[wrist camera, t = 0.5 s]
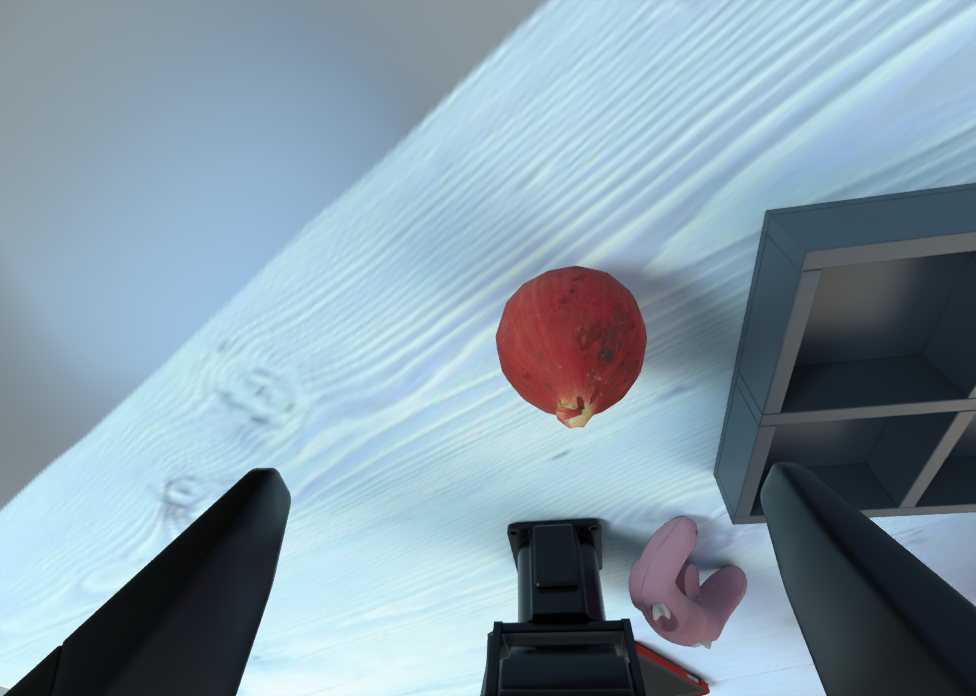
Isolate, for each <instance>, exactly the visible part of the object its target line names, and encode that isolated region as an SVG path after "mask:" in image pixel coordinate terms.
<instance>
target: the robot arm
mask: <svg viewBox="0 0 976 696" xmlns="http://www.w3.org/2000/svg"><path fill="white" fill-rule="evenodd" d="M290 504H291V497H290V493H289V490H288V489H287V487H286V485H285V483H284V481H283V479H282V477H281V476H280V474H279V472H278V471H277V470H276V469H275V468H255V469H252V470H251V471H249V472H248V473H247V474H246V475H245V476H244V477H243V478H241V479H240V480H239V481H238V482H237V483H236V484H235V485H234V486H233V487H232V488H231V489H229V490H228V491H227V492H226V493H225V494H224V495H223V496H222V497H221V498H220V499H218V500H217V501H216V502H215V503H214V504H213V505H212V506H211V507H210V508H209V509H208V510H206V511H205V512H204V513H203V514H202V515H201V516H200V517H199V518H198V519H197V520H196V521H194V522H193V523H192V524H191V525H190V526H189V527H188V528H187V529H186V530H185V531H184V532H182V533H181V534H180V535H179V536H178V537H177V538H176V539H175V540H174V541H173V542H172V543H170V544H169V545H168V546H167V547H166V548H165V549H164V550H163V551H162V552H161V553H160V554H158V555H157V556H156V557H155V558H154V559H153V560H152V561H151V562H150V563H149V564H148V565H146V566H145V567H144V568H143V569H142V570H141V571H140V572H139V573H138V574H137V575H135V576H134V577H133V578H132V579H131V580H130V581H129V582H128V583H127V584H126V585H125V586H123V587H122V588H121V589H120V590H119V591H118V592H117V593H116V594H115V595H114V596H113V597H111V598H110V599H109V600H108V601H107V602H106V603H105V604H104V605H103V606H102V607H101V608H99V609H98V610H97V611H96V612H95V613H94V614H93V615H92V616H91V617H90V618H89V619H87V620H86V621H85V622H84V623H83V624H82V625H81V626H80V627H79V628H78V629H77V630H75V631H74V632H73V633H72V634H71V635H70V636H69V637H68V638H67V639H66V640H65V641H64V642H63V645H62V646H58V647H57V648H56V649H54V650H53V651H52V652H51V653H50V654H49V655H48V656H47V657H46V658H45V659H44V660H42V661H41V662H40V663H39V664H38V665H37V666H36V667H35V668H34V669H33V670H31V671H30V672H29V673H28V674H27V675H26V676H25V677H24V678H22V679H21V680H20V681H19V682H18V683H17V684H16V685H15V686H13V687H12V688H11V689H10V690H9V691H8V692H7V693H6V694H4V695H3V696H236V694H237V691H238V688H239V685H240V682H241V679H242V676H243V673H244V670H245V667H246V664H247V661H248V658H249V655H250V652H251V649H252V646H253V643H254V640H255V637H256V634H257V631H258V628H259V625H260V622H261V619H262V616H263V613H264V610H265V607H266V604H267V601H268V598H269V594H270V591H271V588H272V585H273V581H274V577H275V573H276V569H277V564H278V559H279V555H280V550H281V546H282V541H283V537H284V532H285V528H286V523H287V519H288V514H289V509H290ZM761 504H762V508H763V511H764V515H765V519H766V522H767V526H768V530H769V533H770V537H771V541H772V544H773V548H774V552H775V555H776V559H777V563H778V567H779V570H780V574H781V577H782V580H783V584H784V587H785V590H786V593H787V595H788V598H789V601H790V604H791V606H792V609H793V611H794V614H795V616H796V619H797V621H798V624H799V627H800V629H801V632H802V634H803V637H804V639H805V642H806V644H807V647H808V650H809V652H810V655H811V657H812V660H813V662H814V665H815V667H816V670H817V672H818V675H819V678H820V680H821V683H822V685H823V688H824V690H825V693H826V695H827V696H976V607H975V606H974V605H973V604H972V603H971V602H969V601H968V600H967V599H966V598H965V597H963V596H962V595H961V594H960V593H959V592H957V591H956V590H955V589H954V588H952V587H951V586H950V585H949V584H948V583H946V582H945V581H944V580H943V579H942V578H940V577H939V576H938V575H937V574H936V573H934V572H933V571H932V570H931V569H930V568H928V567H927V566H926V565H925V564H923V563H922V562H921V561H920V560H919V559H917V558H916V557H915V556H914V555H913V554H911V553H910V552H909V551H908V550H907V549H905V548H904V547H903V546H902V545H900V544H899V543H898V542H897V541H896V540H894V539H893V538H892V537H891V536H890V535H888V534H887V533H886V532H885V531H884V530H882V529H881V528H880V527H879V526H878V525H876V524H875V523H874V522H873V521H871V520H870V519H869V518H868V517H867V516H865V515H864V514H863V513H862V512H861V511H859V510H858V509H857V508H856V507H855V506H853V505H852V504H851V503H850V502H848V501H847V500H846V499H845V498H844V497H842V496H841V495H840V494H839V493H838V492H836V491H835V490H834V489H833V488H832V487H830V486H829V485H828V484H827V483H825V482H824V481H823V480H822V479H821V478H819V477H818V476H817V475H816V474H815V473H813V472H812V471H811V470H810V469H809V468H807V467H806V466H805V465H803V464H801V463H797V462H778V463H775V464H774V465H773V466H772V467H771V470H770V472H769V474H768V476H767V478H766V480H765V483H764V485H763V487H762V489H761ZM507 534H508V537H509V541H510V545H511V549H512V553H513V557H514V561H515V565H516V568H517V572H518V623H503V622H502V621H496V622H494V628H493V631H492V632H490V633H488V641H487V661H486V668H485V673H484V679H483V684H482V690H481V695H480V696H646V692H645V687H644V682H643V677H642V673H641V668H640V664H639V659H638V655H637V650H636V645H635V641H634V636H633V632H632V627H631V623H630V619H621V620H615V621H606V618H605V610H604V603H603V596H602V589H601V582H600V575H599V570H601V569H602V547H601V526H600V522H599V521H598V520H593V519H592V520H574V521H556V522H538V523H519V524H510V525H509V526H508V528H507Z"/></svg>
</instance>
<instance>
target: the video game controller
mask: <svg viewBox="0 0 976 696" xmlns="http://www.w3.org/2000/svg"><path fill="white" fill-rule="evenodd" d="M697 535H698V531H697V526H696V524H695V522H694V521H693V520H692V519H690V518H688V517H686V516H680V517H677V518H674V519H672V520H670V521H669V522H667V523H665V524H664V525H663V526H662V527H661V528H659V529H658V530H657V531H656V532H655V534H654V535H653V536H652V537H651V539H650V540H649V542H648V544H647V545H646V547H645V548H644V550H643V552H642V554H641V556H640V558H639V559H637V560H636V561H635V563H634V564H633V566H632V569H631V572H630V577H629V592H630V596H631V599H632V603H633V604H634V606H635V607H636V608H637V609H638V610H640V611H642V613H643V615H644V617H645V618H646V620H647V622H648V623H649V624H650V626H651V627H652V628H653V629H654V631H655V632H656V633H657V634H659V635H660V636H661V637H662V638H664V639H666V640H668V641H670V642H672V643H675V644H678V645H682V646H688V647H693V648H694V647H699V646H700V645H703V646H705V647H706V648H707V649H710V648H711V643H712V641H715V640H717V639H718V637H719V636H720V634H721V632H722V630H723V628H724V626H725V623H726V622H727V620H728V618H729V617H730V615H731V614H732V612H733V611H734V610H735V608H736V607H737V606H738V604H739V603H740V601H741V600H742V598H743V596H744V595H745V592H746V588H747V579H746V575H745V573H744V572H743V570H742V569H740V568H739V567H736V566H726V567H723V568H721V569H719V570H718V571H716V572H715V573H714V574H712V575H711V576H710V577H709V578H708V579H707V580H706V581H705V582H704V583H703V584H702V585H701V586H700V587H699V573H698V570H697V568H696V566H695V565H693V564H689V563H684V562H685V561H686V559H687V558H688V556H689V555H690V553H691V552H692V550H693V548H694V547H695V543H696V539H697Z"/></svg>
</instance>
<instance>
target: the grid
mask: <svg viewBox="0 0 976 696" xmlns="http://www.w3.org/2000/svg"><path fill="white" fill-rule="evenodd" d="M778 462H797V463H801V464H803V465H805V466H806V467H807V468H809V469H810V470H811V471H812V472H813V473H815V474H816V475H817V476H818V477H819V478H821V479H822V480H823V481H824V482H825V483H827V484H828V485H829V486H830V487H832V488H833V489H834V490H835V491H836V492H838V493H839V494H840V495H841V496H842V497H844V498H845V499H846V500H847V501H848V502H850V503H851V504H852V505H853V506H855V507H856V508H857V509H858V510H859V511H861V512H862V513H863V514H864V515H865V516H867V517H868V518H870V517H890V516H909V515H928V514H948V513H967V512H976V183H972V184H965V185H957V186H949V187H942V188H934V189H927V190H919V191H911V192H904V193H896V194H889V195H881V196H873V197H866V198H858V199H851V200H843V201H835V202H828V203H820V204H813V205H805V206H797V207H790V208H782V209H775V210H767V211H766V213H765V218H764V223H763V228H762V233H761V238H760V243H759V248H758V253H757V258H756V263H755V268H754V273H753V278H752V283H751V288H750V293H749V298H748V303H747V308H746V313H745V318H744V323H743V328H742V333H741V338H740V343H739V348H738V353H737V358H736V363H735V368H734V373H733V378H732V383H731V388H730V393H729V398H728V404H727V409H726V414H725V419H724V424H723V429H722V434H721V439H720V444H719V449H718V454H717V459H716V464H715V469H714V477H715V479H716V482H717V485H718V487H719V490H720V492H721V495H722V498H723V500H724V503H725V505H726V508H727V511H728V513H729V516H730V518H731V521H732V524H734V525H735V524H754V523H767V522H766V519H765V515H764V511H763V508H762V504H761V489H762V487H763V485H764V483H765V480H766V478H767V476H768V474H769V472H770V470H771V467H772V466H773V465H774V464H775V463H778Z"/></svg>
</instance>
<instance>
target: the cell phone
mask: <svg viewBox="0 0 976 696" xmlns="http://www.w3.org/2000/svg"><path fill="white" fill-rule="evenodd" d="M635 645H636V650H637V655H638V659H639V664H640V668H641V673H642V677H643V682H644V687H645V692H646V696H703V695H706V694H709V692H710V691H709V687H708V684H707V683H706V682H704V681H702V680H701V679H699V678H696V677H694V676H693V675H691V674H689V673H687V672H686V671H685V670H683V669H682V668H680V667H678V666H676V665H675V664H673V663H671V662H669V661H667V660H666V659H664V658H662V657H660V656H659V655H657V654H655V653H653V652H651V651H650V650H648V649H646V648H644V647H642V646H640V645H638V644H635Z"/></svg>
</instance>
